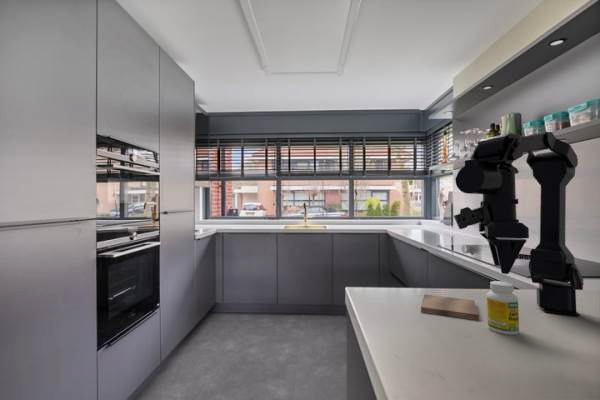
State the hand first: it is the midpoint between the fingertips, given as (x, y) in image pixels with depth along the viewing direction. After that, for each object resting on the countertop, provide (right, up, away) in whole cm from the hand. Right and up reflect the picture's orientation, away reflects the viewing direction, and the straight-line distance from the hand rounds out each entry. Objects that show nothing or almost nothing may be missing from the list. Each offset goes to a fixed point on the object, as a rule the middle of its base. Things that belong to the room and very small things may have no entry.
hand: (501, 269), depth 60 cm
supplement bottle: (0, -13, -1) cm, 13 cm away
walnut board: (-4, -13, +13) cm, 19 cm away
